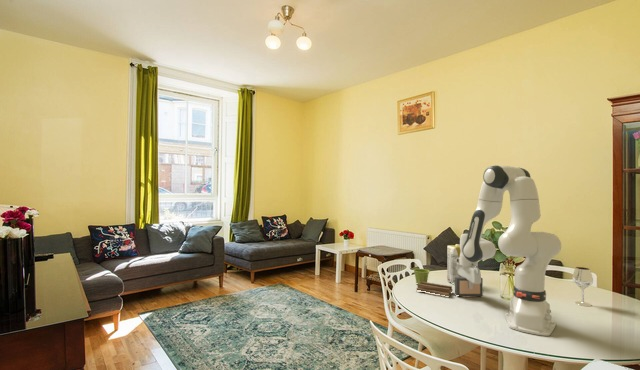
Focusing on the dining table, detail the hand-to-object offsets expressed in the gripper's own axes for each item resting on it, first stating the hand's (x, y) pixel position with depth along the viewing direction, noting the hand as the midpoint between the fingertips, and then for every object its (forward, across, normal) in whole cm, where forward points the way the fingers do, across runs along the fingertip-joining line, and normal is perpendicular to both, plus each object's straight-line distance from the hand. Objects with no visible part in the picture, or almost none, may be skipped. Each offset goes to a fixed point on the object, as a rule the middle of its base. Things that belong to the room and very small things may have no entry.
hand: (468, 287), depth 175 cm
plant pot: (+5, +21, +19) cm, 29 cm away
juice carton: (+5, +24, -4) cm, 25 cm away
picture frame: (+5, 0, 0) cm, 5 cm away
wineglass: (+5, -12, -52) cm, 54 cm away
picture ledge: (+5, +6, +16) cm, 18 cm away
